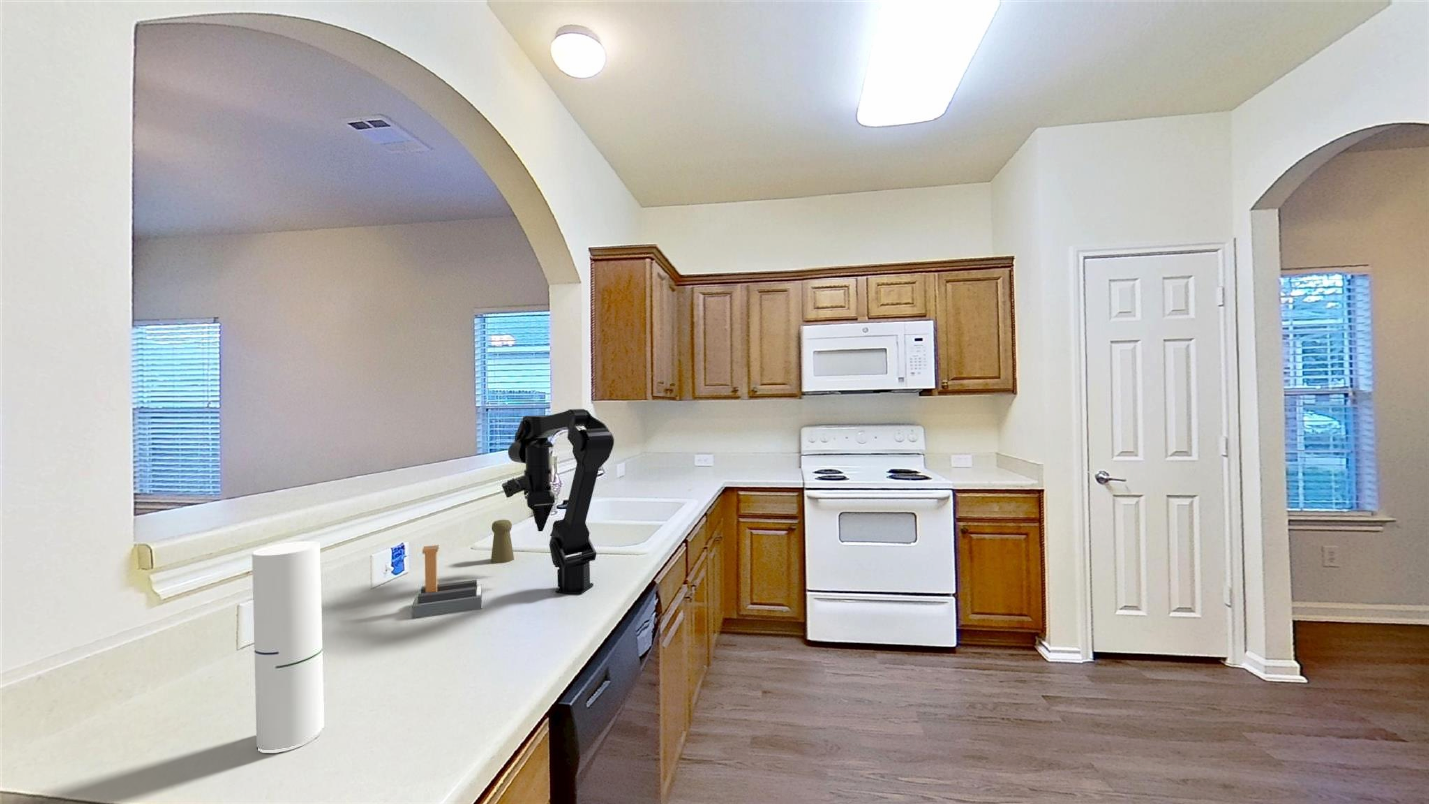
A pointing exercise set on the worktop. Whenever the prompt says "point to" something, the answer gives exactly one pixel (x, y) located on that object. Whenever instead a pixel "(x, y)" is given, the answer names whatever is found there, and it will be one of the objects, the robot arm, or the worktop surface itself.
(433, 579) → the handle
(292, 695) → the cylindrical container
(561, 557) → the robot arm
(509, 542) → the cork
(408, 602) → the worktop surface
